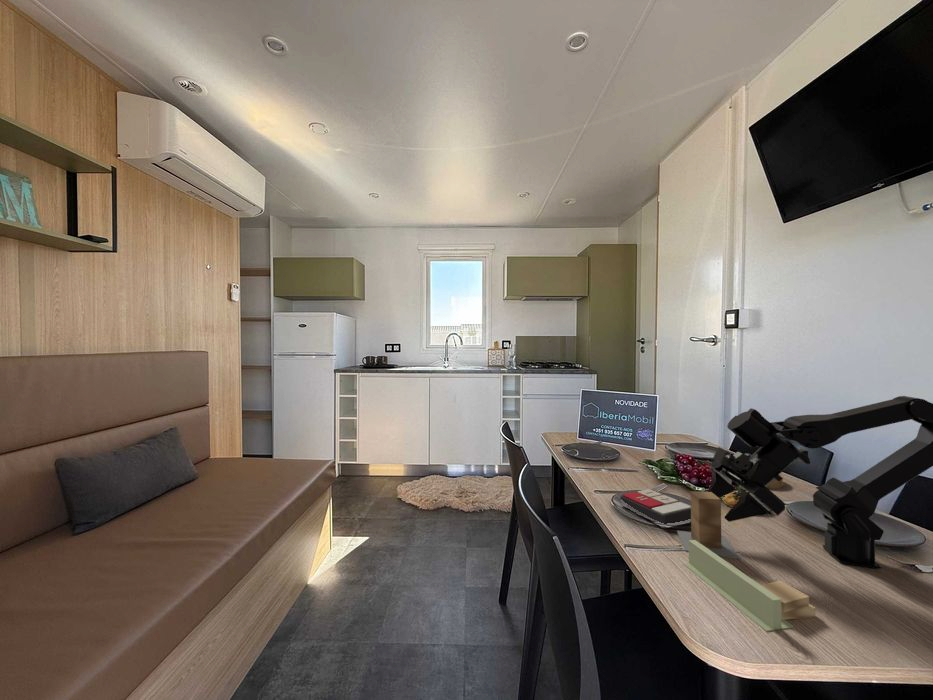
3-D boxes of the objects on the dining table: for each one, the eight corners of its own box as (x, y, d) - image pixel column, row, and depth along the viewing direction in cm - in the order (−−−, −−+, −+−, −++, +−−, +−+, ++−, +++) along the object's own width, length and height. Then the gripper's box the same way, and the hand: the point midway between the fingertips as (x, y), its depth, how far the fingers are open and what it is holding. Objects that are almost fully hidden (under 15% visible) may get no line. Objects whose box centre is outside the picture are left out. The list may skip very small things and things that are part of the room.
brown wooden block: (712, 539, 84) (711, 492, 84) (721, 548, 80) (720, 499, 80) (691, 537, 85) (690, 491, 85) (699, 547, 81) (698, 498, 81)
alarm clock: (787, 482, 111) (728, 465, 119) (784, 497, 111) (725, 480, 119) (781, 471, 120) (726, 456, 128) (778, 485, 120) (723, 469, 129)
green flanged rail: (705, 562, 76) (704, 538, 76) (793, 628, 58) (793, 597, 58) (683, 564, 75) (683, 541, 75) (766, 632, 58) (766, 601, 58)
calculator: (648, 487, 108) (695, 505, 94) (649, 502, 108) (696, 522, 94) (619, 493, 104) (663, 512, 90) (620, 508, 104) (664, 530, 90)
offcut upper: (779, 588, 65) (780, 580, 65) (808, 605, 61) (809, 596, 61) (755, 594, 64) (756, 585, 64) (784, 612, 59) (784, 603, 59)
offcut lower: (785, 596, 66) (785, 588, 66) (815, 616, 61) (815, 607, 61) (751, 599, 65) (751, 590, 65) (779, 620, 60) (779, 611, 60)
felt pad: (725, 538, 85) (725, 536, 85) (739, 559, 77) (739, 558, 77) (676, 532, 89) (676, 530, 89) (685, 552, 80) (685, 550, 80)
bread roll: (777, 518, 94) (773, 498, 94) (725, 515, 100) (722, 496, 100) (769, 503, 104) (765, 485, 104) (722, 501, 109) (719, 484, 110)
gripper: (716, 427, 90) (670, 470, 92) (766, 448, 72) (707, 502, 74) (753, 458, 89) (705, 502, 91) (812, 488, 71) (751, 542, 73)
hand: (715, 510), depth 82 cm, fingers open, 9 cm apart
